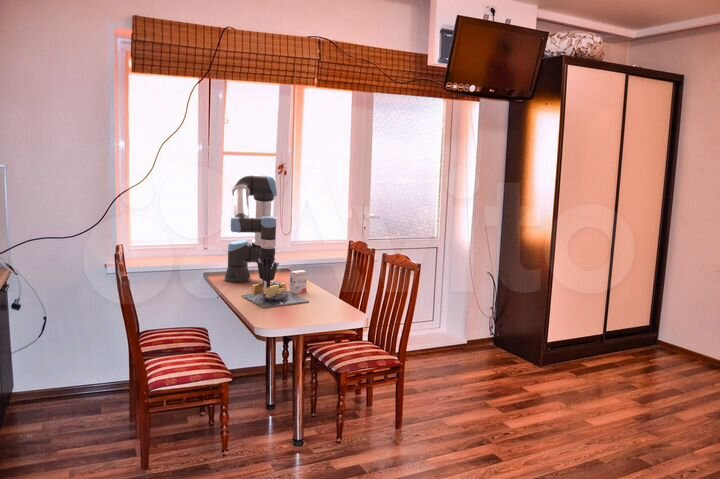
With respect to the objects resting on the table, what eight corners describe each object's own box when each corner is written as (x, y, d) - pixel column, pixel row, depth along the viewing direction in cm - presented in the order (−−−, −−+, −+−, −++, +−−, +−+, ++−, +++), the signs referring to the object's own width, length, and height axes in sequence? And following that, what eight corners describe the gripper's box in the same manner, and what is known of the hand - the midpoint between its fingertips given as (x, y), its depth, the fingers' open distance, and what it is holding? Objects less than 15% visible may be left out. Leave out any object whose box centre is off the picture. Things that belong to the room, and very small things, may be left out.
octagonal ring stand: (272, 288, 313) (272, 278, 313) (289, 291, 308) (290, 281, 308) (251, 294, 297) (251, 285, 296) (268, 297, 292) (269, 288, 291)
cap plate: (241, 296, 309) (241, 279, 308) (284, 291, 325) (285, 275, 323) (263, 308, 289) (264, 290, 287) (309, 302, 304) (309, 285, 303)
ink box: (301, 290, 330) (301, 269, 328) (306, 292, 326) (307, 271, 325) (288, 292, 324) (289, 271, 322) (294, 294, 320) (295, 272, 319)
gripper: (252, 246, 292) (251, 292, 296) (273, 249, 286) (272, 296, 290) (262, 244, 299) (260, 289, 303) (282, 248, 293) (281, 293, 297)
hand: (266, 293), depth 296 cm, fingers closed
